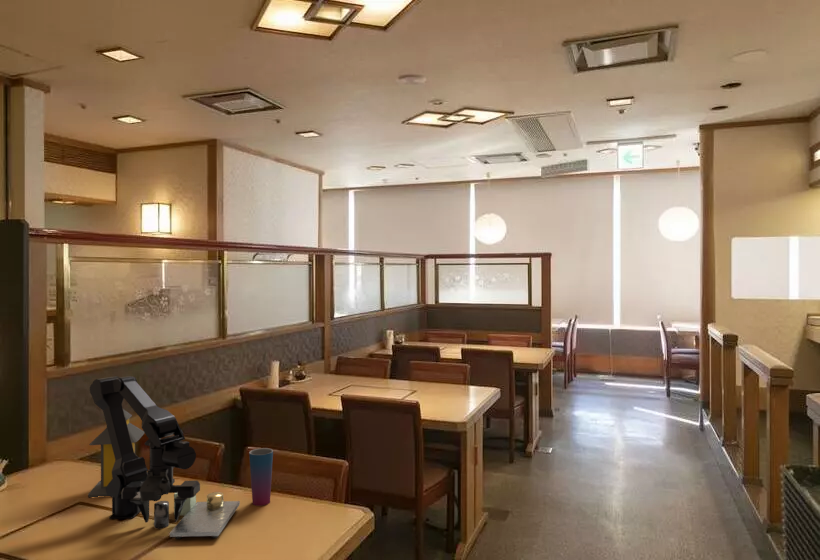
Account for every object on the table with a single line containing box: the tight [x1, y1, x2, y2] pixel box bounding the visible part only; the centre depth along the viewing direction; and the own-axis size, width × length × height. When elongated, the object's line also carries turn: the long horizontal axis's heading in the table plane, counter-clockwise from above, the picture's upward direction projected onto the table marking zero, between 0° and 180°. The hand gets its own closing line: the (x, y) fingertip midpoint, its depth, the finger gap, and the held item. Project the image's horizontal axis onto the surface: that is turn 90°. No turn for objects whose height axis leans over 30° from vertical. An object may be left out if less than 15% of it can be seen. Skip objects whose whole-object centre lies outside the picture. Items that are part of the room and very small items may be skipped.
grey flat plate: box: [169, 500, 241, 540], centre depth 152 cm, size 12×20×2 cm, turn 2°
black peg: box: [153, 500, 170, 530], centre depth 151 cm, size 4×4×6 cm
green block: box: [173, 493, 197, 516], centre depth 160 cm, size 4×4×6 cm
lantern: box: [87, 408, 145, 498], centre depth 180 cm, size 14×14×30 cm
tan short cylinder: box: [206, 491, 224, 509], centre depth 159 cm, size 4×4×3 cm
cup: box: [248, 447, 274, 507], centre depth 167 cm, size 7×7×15 cm
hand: (161, 521), depth 151 cm, fingers open, 7 cm apart
